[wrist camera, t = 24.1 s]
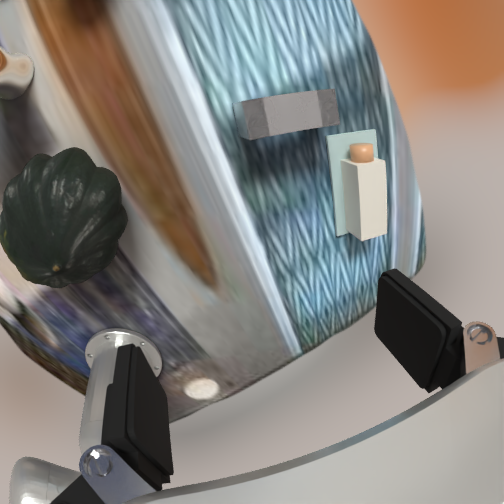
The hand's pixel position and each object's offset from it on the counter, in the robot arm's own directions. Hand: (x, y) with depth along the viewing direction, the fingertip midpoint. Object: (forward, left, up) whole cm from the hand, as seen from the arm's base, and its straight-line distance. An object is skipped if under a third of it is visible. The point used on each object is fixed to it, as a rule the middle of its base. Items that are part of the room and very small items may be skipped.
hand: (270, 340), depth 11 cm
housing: (+6, -10, -28) cm, 30 cm away
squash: (+2, +16, -28) cm, 32 cm away
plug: (-5, -19, -27) cm, 34 cm away
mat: (-5, -19, -28) cm, 34 cm away
